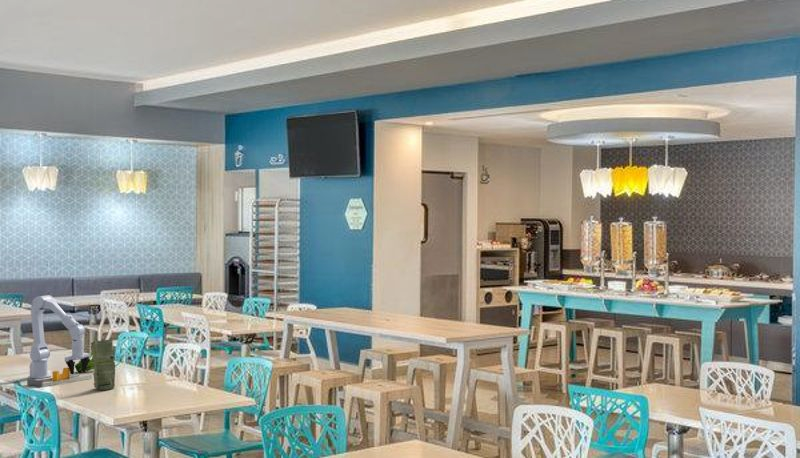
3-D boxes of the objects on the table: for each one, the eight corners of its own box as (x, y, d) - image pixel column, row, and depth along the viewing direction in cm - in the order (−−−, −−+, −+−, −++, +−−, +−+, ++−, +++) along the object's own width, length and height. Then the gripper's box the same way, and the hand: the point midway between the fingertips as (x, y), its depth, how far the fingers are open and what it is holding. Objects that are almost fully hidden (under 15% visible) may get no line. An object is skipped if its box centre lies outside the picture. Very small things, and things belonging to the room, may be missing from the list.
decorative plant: (130, 370, 516) (130, 344, 516) (74, 374, 507) (74, 347, 507) (130, 366, 533) (129, 340, 533) (75, 368, 524) (75, 343, 524)
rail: (27, 384, 473) (27, 379, 473) (78, 376, 498) (78, 370, 498) (40, 387, 466) (40, 381, 466) (91, 378, 491) (91, 372, 490)
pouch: (91, 391, 453) (90, 340, 453) (92, 387, 464) (91, 337, 464) (115, 390, 456) (114, 339, 455) (115, 386, 467) (115, 336, 467)
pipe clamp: (62, 379, 488) (61, 367, 488) (69, 379, 487) (69, 367, 487) (49, 383, 476) (49, 371, 476) (57, 384, 475) (57, 371, 475)
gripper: (70, 349, 482) (70, 375, 482) (93, 346, 494) (94, 371, 494) (62, 348, 486) (62, 374, 487) (85, 345, 498) (86, 370, 498)
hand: (78, 373), depth 491 cm, fingers open, 7 cm apart
